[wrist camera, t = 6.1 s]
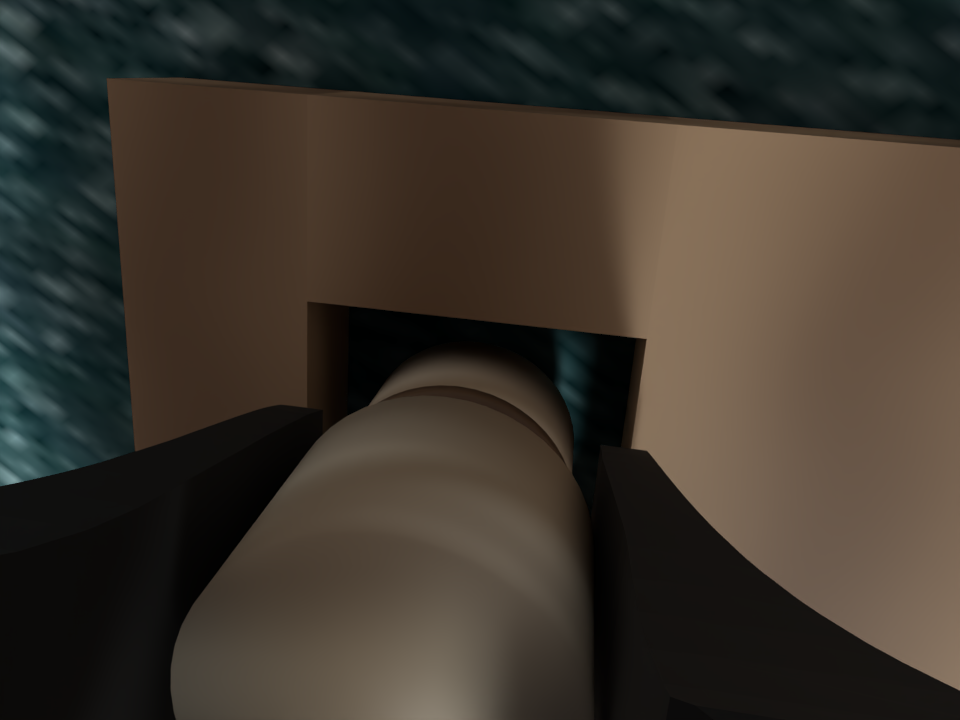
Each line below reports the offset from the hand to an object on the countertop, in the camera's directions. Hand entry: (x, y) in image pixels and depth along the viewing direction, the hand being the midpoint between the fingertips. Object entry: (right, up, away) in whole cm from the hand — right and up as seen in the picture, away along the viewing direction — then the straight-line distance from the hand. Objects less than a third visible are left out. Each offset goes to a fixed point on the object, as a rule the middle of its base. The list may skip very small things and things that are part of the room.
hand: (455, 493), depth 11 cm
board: (+2, +1, +2) cm, 3 cm away
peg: (0, +1, +2) cm, 2 cm away
